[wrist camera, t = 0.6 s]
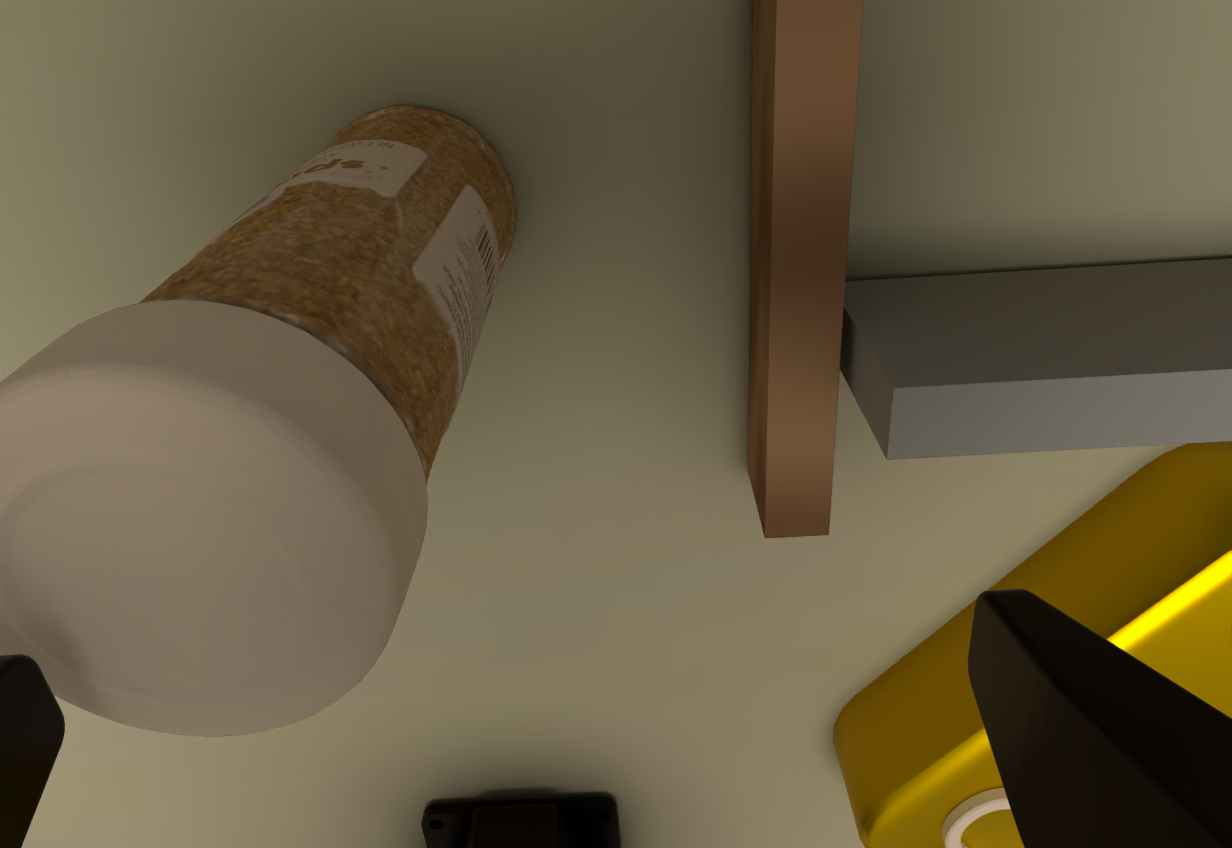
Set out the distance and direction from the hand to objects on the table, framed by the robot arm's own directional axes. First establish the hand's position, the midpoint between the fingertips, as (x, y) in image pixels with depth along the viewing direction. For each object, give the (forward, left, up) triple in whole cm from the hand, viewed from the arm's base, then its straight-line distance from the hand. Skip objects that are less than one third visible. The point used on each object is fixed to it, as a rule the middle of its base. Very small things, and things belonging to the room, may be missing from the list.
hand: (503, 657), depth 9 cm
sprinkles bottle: (+1, +3, -14) cm, 14 cm away
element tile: (-16, -17, -14) cm, 27 cm away
